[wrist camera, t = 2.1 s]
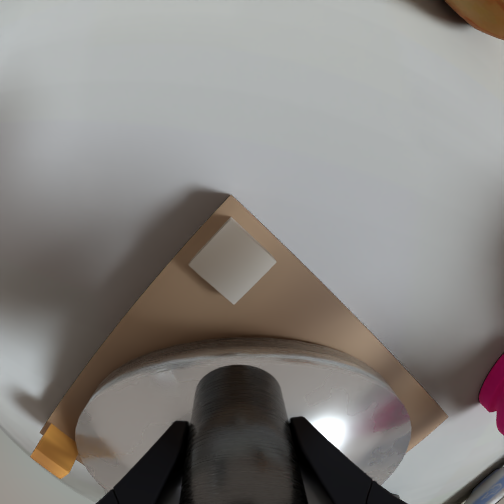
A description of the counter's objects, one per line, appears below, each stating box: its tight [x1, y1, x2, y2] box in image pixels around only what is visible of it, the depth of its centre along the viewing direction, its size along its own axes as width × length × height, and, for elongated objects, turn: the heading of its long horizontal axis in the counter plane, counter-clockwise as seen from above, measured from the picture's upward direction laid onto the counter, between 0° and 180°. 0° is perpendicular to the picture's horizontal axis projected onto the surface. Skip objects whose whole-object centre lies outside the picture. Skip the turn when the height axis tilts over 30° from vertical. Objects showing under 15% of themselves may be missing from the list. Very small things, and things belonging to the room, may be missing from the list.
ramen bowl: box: [464, 467, 504, 504], centre depth 21 cm, size 25×23×8 cm
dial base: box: [30, 195, 448, 479], centre depth 12 cm, size 20×20×4 cm
